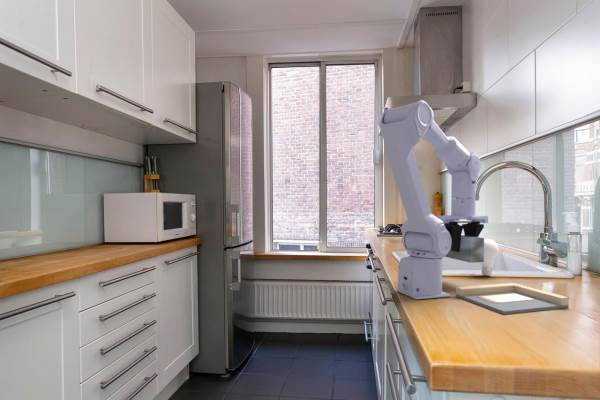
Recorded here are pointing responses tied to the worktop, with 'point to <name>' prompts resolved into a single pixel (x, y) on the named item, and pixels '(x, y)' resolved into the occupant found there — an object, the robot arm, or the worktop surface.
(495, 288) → the tray
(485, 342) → the worktop surface
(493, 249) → the lightbulb
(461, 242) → the painted block
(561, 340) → the worktop surface
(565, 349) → the worktop surface
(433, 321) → the worktop surface
